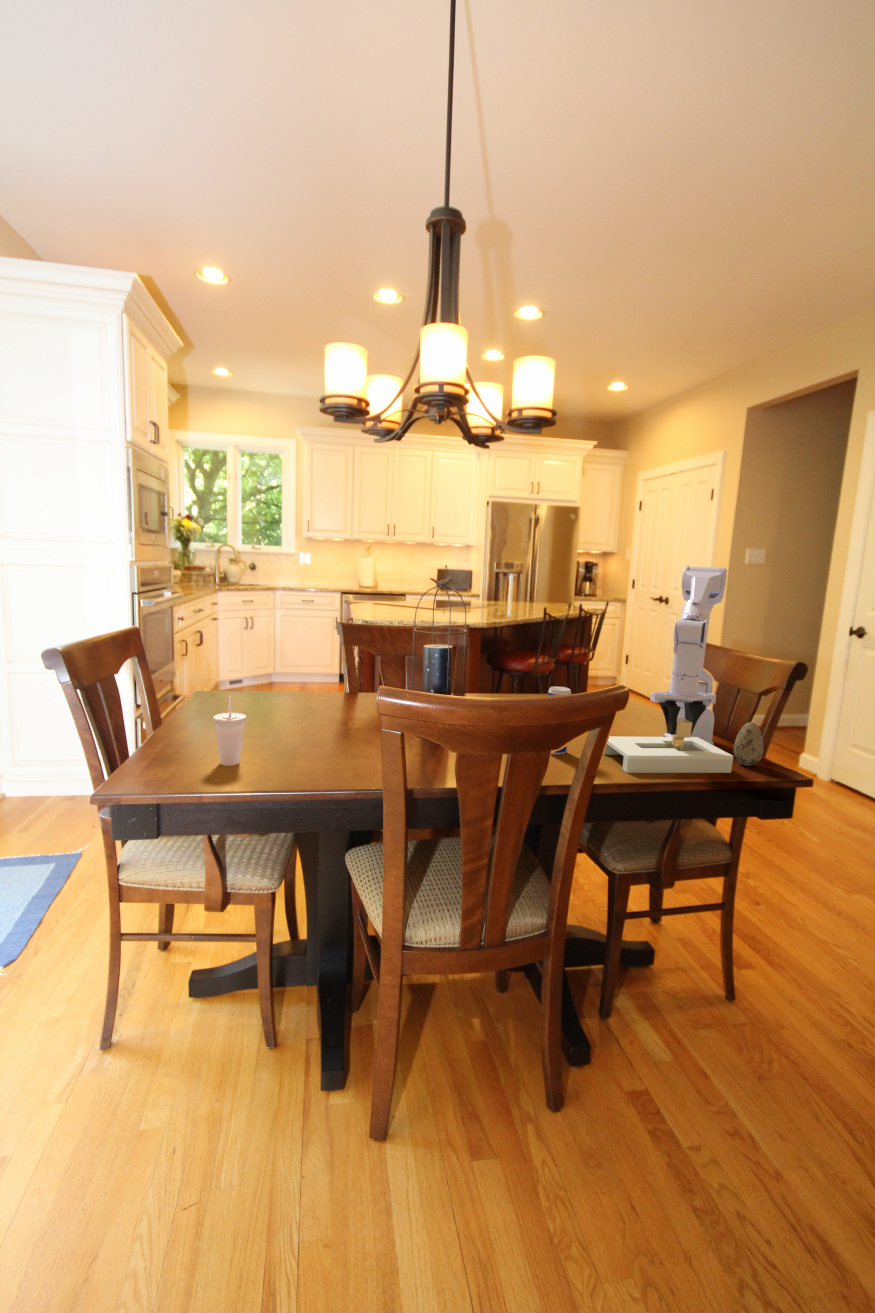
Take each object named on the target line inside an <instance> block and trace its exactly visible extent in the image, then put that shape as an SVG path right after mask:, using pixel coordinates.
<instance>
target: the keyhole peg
mask: <svg viewBox="0 0 875 1313" xmlns="http://www.w3.org/2000/svg"><path fill="white" fill-rule="evenodd" d="M691 729H692V722H690V721H689V720H687V719H685V718H677V722H676V730H675V734H674V735H672V736H673V739H672V747H671V748H675V749H676V750H678V751H683V744H684V738H690V736H691Z"/></svg>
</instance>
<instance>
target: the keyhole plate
mask: <svg viewBox="0 0 875 1313" xmlns="http://www.w3.org/2000/svg"><path fill="white" fill-rule="evenodd" d="M608 736H609V735H608ZM672 739H673V737H666V736H622V735H621V736H616V735H615V736H612V735H611V736H609V739H608V742H607V745H606V748H605V754H604V756H605V755H606V756H610V755H611V756H620V755H621V756H623V759H622V760H623V761H622V770H623V772H625V773H626V774H627V773H628V774H638V773H639V774H640V773H641V774H661V773H662V774H663V773H664V774H665V773H666V774H669V773H670V774H679V773H680V774H681V773H682V774H685V773H686V774H690V773H691V774H701V773H702V774H709V773H710V774H711V773H712V774H714V773H715V774H718V773H719V774H720V773H721V774H723V773H724V774H727V773H728V774H729V773H730V774H731V773H732V768H733V763H734V762H733V760H734V754H733V755H732V754H731V753H729V752H727V751H724V750H723V749H721V748H720V747H717V746H715V745H714V744H710V743H708V742H706V741H704V740H702V739H700V738H698V737H690V738H684V744H683V751H678V750H676V749H675V748H671V747H672Z"/></svg>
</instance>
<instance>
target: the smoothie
mask: <svg viewBox="0 0 875 1313" xmlns="http://www.w3.org/2000/svg"><path fill="white" fill-rule="evenodd" d="M232 701H233V700H232V695H228V712H223V713H218V714H216V715H213V717H212V723H213V724H214V728H215V734H216V735H215V736H216V743H217V749H218V755H219V757H218V758H219V762H220V763H219V764H220V765H222V766H225V767H229V766H230V767H231V766H237V765H239V764H240V762H241V753H242V748H243V738H244V732H245V731H244V730H245V723H247V715H246V714H244V713H240V712H232V711H233V710H232V703H233V702H232Z"/></svg>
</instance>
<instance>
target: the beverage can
mask: <svg viewBox="0 0 875 1313" xmlns="http://www.w3.org/2000/svg"><path fill="white" fill-rule="evenodd" d="M547 693H548V694H547V696H548V695H568V694H571V695H572V691H571V689H570V688H569V687H566V686H550V687H549V689H548V692H547ZM567 749H568V745H567V746H566V747H564V748H563V749H561V750H559V751H556V752H554V753H553V754H552V755H553V756H555V755H556V756H559V755H560V756H562V755H564V754H565V753H566V752H567ZM561 754H562V755H561Z"/></svg>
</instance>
